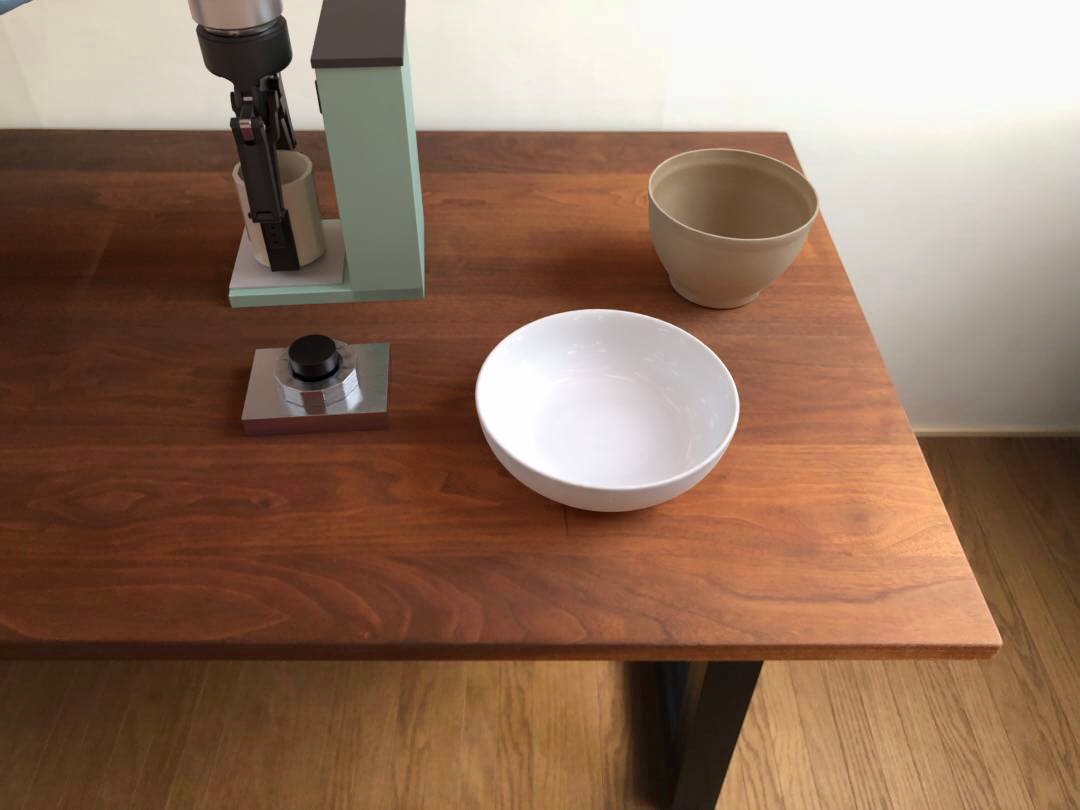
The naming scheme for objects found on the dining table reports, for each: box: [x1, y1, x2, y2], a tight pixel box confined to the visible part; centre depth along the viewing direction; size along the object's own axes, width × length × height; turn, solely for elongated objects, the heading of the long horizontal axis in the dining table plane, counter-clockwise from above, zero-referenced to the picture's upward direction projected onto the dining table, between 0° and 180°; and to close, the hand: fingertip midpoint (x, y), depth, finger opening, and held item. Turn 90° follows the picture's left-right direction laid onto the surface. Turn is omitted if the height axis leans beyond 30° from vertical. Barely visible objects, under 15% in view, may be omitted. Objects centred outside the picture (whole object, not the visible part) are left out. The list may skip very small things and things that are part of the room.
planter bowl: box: [647, 147, 820, 309], centre depth 88 cm, size 16×16×11 cm
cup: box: [231, 150, 326, 267], centre depth 89 cm, size 7×7×9 cm
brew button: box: [288, 333, 339, 382], centre depth 76 cm, size 4×4×2 cm
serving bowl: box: [474, 308, 740, 513], centre depth 73 cm, size 21×21×7 cm
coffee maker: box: [227, 0, 425, 309], centre depth 85 cm, size 19×13×25 cm
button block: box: [240, 337, 393, 438], centre depth 78 cm, size 12×9×4 cm
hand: (290, 245), depth 91 cm, fingers closed on cup, 7 cm apart
